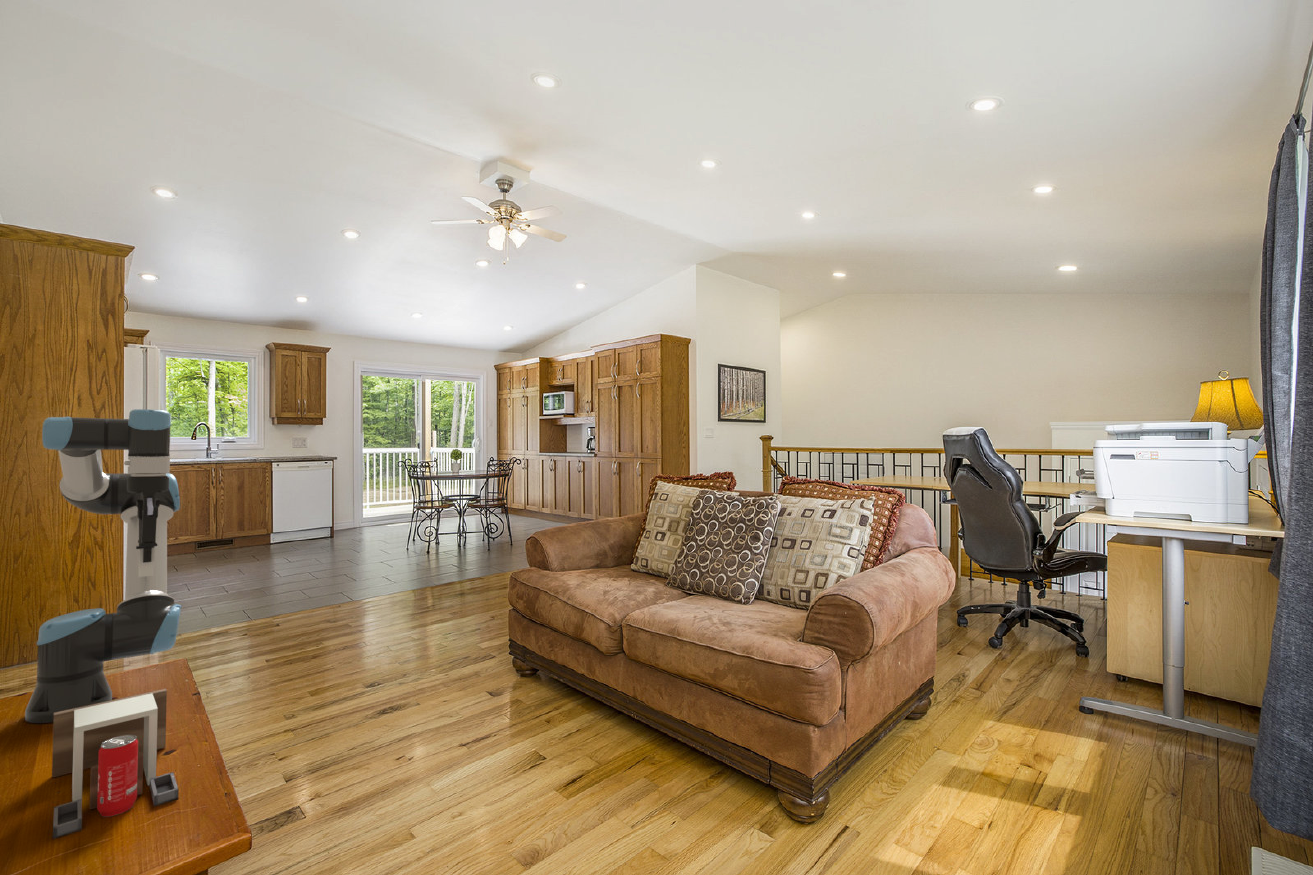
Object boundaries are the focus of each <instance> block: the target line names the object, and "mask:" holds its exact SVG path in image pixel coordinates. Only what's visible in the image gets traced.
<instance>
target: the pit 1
mask: <svg viewBox="0 0 1313 875" xmlns="http://www.w3.org/2000/svg"><path fill="white" fill-rule="evenodd" d="M82 805H83V803H81V799H80V800H76V801H73V802H72V801H71V802H67V803H63V804H59V805H57V806H54V807H53V822H52V823H53V825H52V839H53V840H55V839H57V838H61V837H64V836H67V835H70V834H73V833H76V832H80V831H82V829H83V811H82V810H83V807H82Z"/></svg>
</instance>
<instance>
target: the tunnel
mask: <svg viewBox="0 0 1313 875" xmlns="http://www.w3.org/2000/svg"><path fill="white" fill-rule="evenodd" d="M157 714H158V708H157V705H156V702H155V699H154V696H153V693H151V694H146V695H142V696H137V697H132V698H128V699H123V700H119V701H114V702H109V703H105V704H100V705H96V706H91V707H87V708H82V709H77V710H74V739H73V772H72V775H71V776H72V778H71V779H72V782H71V783H72V784H71V789H72V790H71V791H72V793H71V795H72V796H71V802H73V801H76V800H80V799H81V803H82V802H83V778H84V777H83V776H84V774H83V772H84V769H83V741H84V731H87V730H91V729H95V728H99V727H104V726H108V725H112V724H116V723H120V722H125V721H129V720H133V719H137V718H141V717H144V746H143V773H144V776H145V780H146V784H147V786H150V779H151V778H154V777H157V753H158V752H157V751H158V749H157ZM82 804H83V803H82Z"/></svg>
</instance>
